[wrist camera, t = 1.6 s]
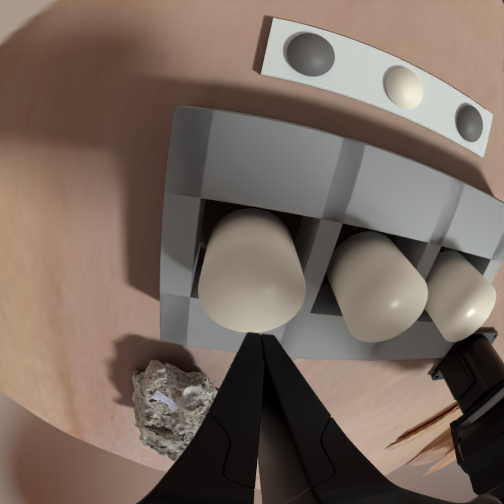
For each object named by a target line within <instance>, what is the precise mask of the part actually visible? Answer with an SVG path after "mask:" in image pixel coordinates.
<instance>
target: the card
mask: <svg viewBox="0 0 504 504" xmlns="http://www.w3.org/2000/svg"><path fill="white" fill-rule="evenodd" d="M261 75H264V76H269V77H274V78H279V79H283V80H288V81H292V82H296V83H300V84H304V85H308V86H312V87H316V88H319V89H323V90H326V91H330V92H333V93H336V94H340V95H343V96H346V97H349V98H352V99H355V100H358V101H361V102H364V103H367V104H370V105H372V106H375V107H378V108H380V109H383V110H385V111H388V112H391V113H393V114H395V115H398V116H400V117H403V118H405V119H407V120H410V121H412V122H414V123H416V124H419V125H421V126H423V127H425V128H427V129H429V130H431V131H434V132H436V133H438V134H440V135H442V136H444V137H446V138H447V139H449V140H451V141H453V142H455V143H457V144H459V145H461V146H462V147H464V148H466V149H468V150H470V151H471V152H473V153H475V154H476V155H478V156H480V157H483V156H484V153H485V149H486V145H487V141H488V137H489V132H490V128H491V123H492V118H493V115H492V114H491V113H490V112H488V111H487V110H486V109H484V108H483V107H481V106H480V105H479V104H477V103H476V102H474V101H473V100H471V99H470V98H468V97H467V96H465V95H464V94H462V93H461V92H459V91H458V90H456V89H454V88H453V87H451V86H449V85H448V84H446V83H444V82H443V81H441V80H439V79H437V78H436V77H434V76H432V75H430V74H428V73H427V72H425V71H423V70H421V69H419V68H417V67H415V66H413V65H411V64H409V63H407V62H405V61H403V60H401V59H399V58H396V57H394V56H392V55H390V54H388V53H385V52H383V51H381V50H378V49H376V48H373V47H371V46H368V45H366V44H363V43H360V42H358V41H355V40H352V39H349V38H347V37H344V36H341V35H338V34H335V33H331V32H328V31H325V30H321V29H318V28H314V27H311V26H307V25H303V24H299V23H295V22H291V21H287V20H282V19H277V18H273V21H272V25H271V30H270V34H269V39H268V43H267V48H266V52H265V57H264V61H263V66H262V71H261Z"/></svg>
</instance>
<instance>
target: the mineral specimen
mask: <svg viewBox="0 0 504 504" xmlns="http://www.w3.org/2000/svg"><path fill="white" fill-rule="evenodd" d="M132 382H133V385H134V389H135V391H134V392H133V396H132V401H133V403H134V405H135V406H134V413H135V419H136V424H135V425H136V426H137V427H138V428H139V430H140V432H141V436H140V440H141V441H142V443H143V444H144V446H147V445H148V446H150V447H151V448H152V449H154V450H156V451H157V452H158V453H159V454H161V455H162V456H164V455H166V454H167V455H168V457H169V458H170V459H171V460H173V461H176V460H177V459H178V458H179V456H180V455H181V454H182V452H183V451H184V450H185V448H186V447H187V446H188V444H189V443H190V441H191V440H192V438H193V437H194V435H195V434H196V432H197V430H198V428H199V427H200V425H201V423H202V421H203V419H204V417H205V415H206V414H207V412H208V410H209V408H210V406H211V404H212V402H213V400H214V398H215V396H216V394H217V390H216V388H215V387H214V385H213V383H212V380H211V379H210V378H209V377H208V376H207V375H206V374H205V373H204V374H201V373H200V372H199V373H198V372H191V373H185V372H183V371H181V370H180V369H178V368H177V367H175V366H173V365H171V364H169V363H166V362H165V363H160V362H159V361H158V360H151V361H150V363H149V365H148V367H147V368H146V370H145V372H141V371H138V370H137V371H134V372H133V377H132Z"/></svg>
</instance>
